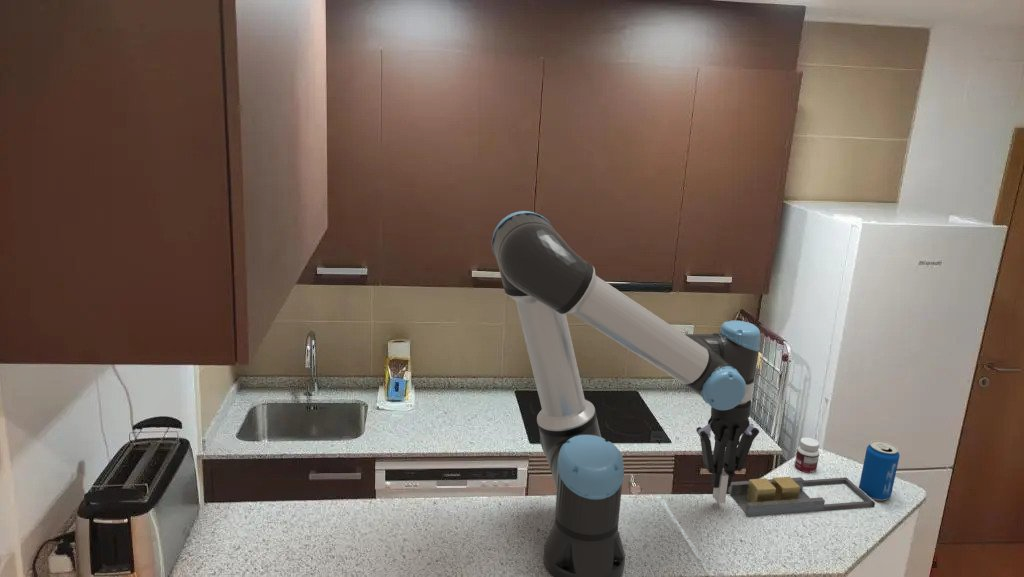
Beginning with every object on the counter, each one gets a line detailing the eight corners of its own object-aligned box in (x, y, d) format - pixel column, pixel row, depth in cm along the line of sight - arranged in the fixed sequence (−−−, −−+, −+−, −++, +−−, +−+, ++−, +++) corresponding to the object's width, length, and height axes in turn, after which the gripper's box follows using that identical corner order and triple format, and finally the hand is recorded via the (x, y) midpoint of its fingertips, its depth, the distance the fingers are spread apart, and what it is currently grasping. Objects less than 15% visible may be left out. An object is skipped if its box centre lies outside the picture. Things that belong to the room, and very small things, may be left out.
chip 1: (755, 508, 149) (758, 489, 148) (746, 497, 153) (749, 479, 151) (773, 507, 150) (776, 488, 148) (763, 496, 153) (766, 478, 152)
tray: (821, 517, 150) (823, 506, 149) (796, 490, 159) (797, 480, 158) (872, 513, 152) (875, 502, 151) (844, 487, 161) (846, 477, 160)
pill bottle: (791, 467, 169) (796, 435, 166) (812, 469, 168) (817, 437, 166) (796, 477, 164) (801, 445, 162) (817, 480, 164) (823, 447, 161)
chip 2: (779, 506, 150) (782, 488, 149) (769, 496, 154) (772, 477, 152) (796, 505, 151) (800, 486, 149) (786, 494, 154) (789, 476, 153)
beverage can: (872, 504, 155) (882, 455, 151) (851, 488, 161) (861, 440, 157) (897, 500, 156) (907, 452, 153) (875, 484, 162) (885, 437, 159)
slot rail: (747, 522, 147) (749, 506, 145) (727, 498, 155) (729, 482, 154) (821, 517, 150) (824, 500, 148) (798, 493, 158) (801, 477, 157)
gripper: (709, 407, 138) (697, 512, 145) (771, 403, 140) (756, 507, 147) (693, 390, 145) (682, 491, 152) (753, 387, 147) (739, 487, 154)
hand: (718, 499), depth 149 cm, fingers closed
